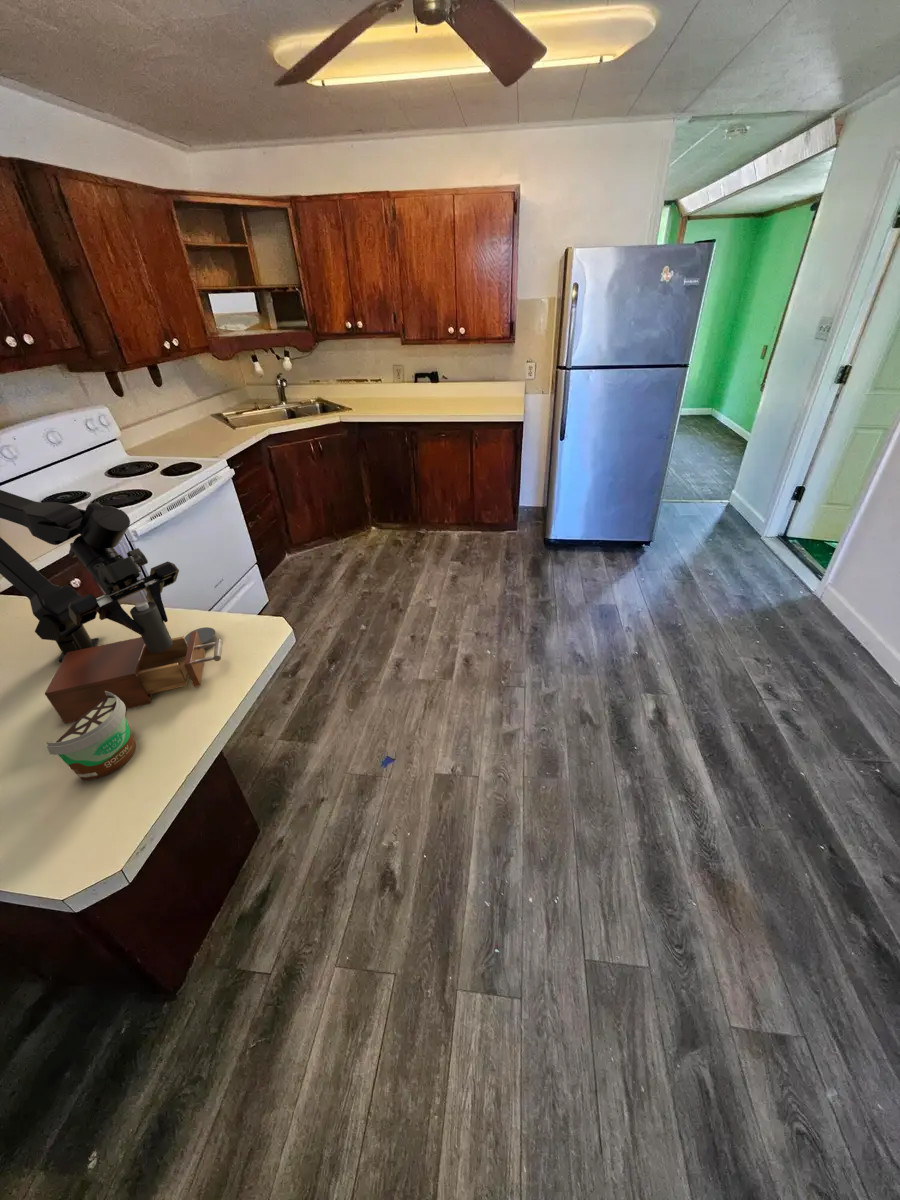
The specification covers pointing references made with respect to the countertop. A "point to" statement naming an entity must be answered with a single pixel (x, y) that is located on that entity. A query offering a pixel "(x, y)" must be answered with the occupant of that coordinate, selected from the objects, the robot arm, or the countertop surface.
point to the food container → (97, 740)
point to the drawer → (176, 664)
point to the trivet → (204, 636)
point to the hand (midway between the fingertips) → (154, 627)
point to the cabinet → (98, 678)
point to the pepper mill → (151, 626)
